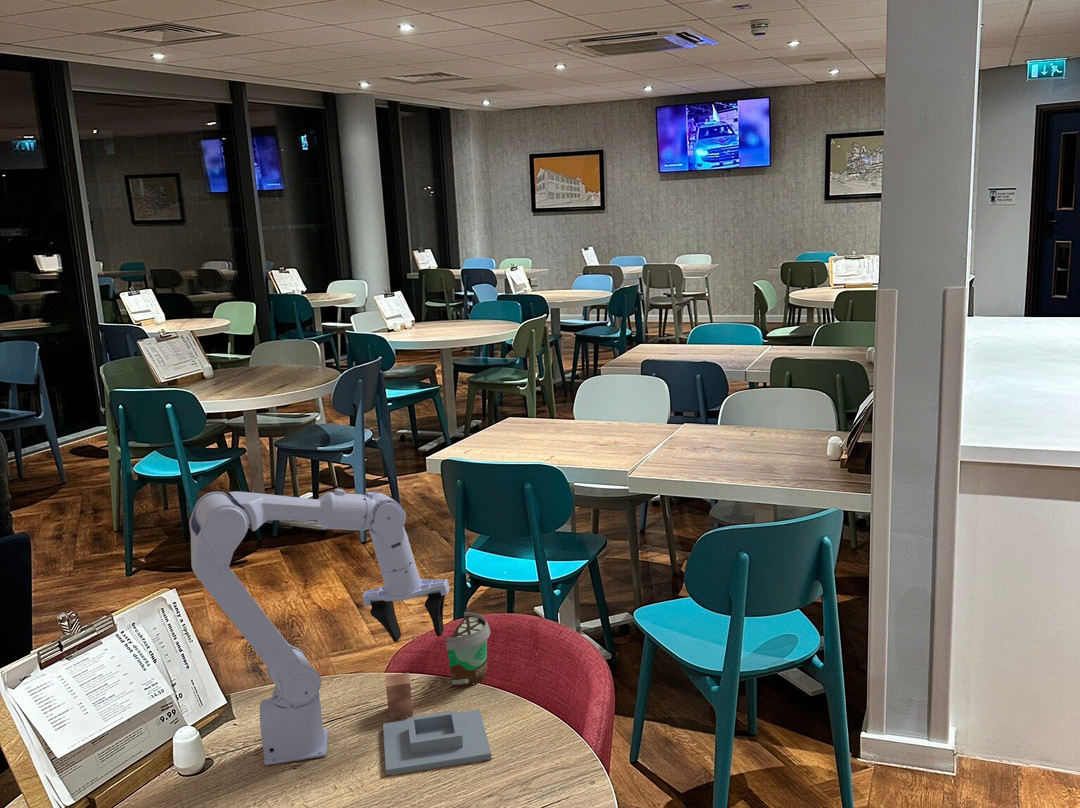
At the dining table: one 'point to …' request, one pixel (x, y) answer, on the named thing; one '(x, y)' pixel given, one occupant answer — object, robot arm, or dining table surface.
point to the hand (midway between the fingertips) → (418, 636)
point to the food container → (468, 651)
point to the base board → (435, 741)
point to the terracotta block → (399, 695)
